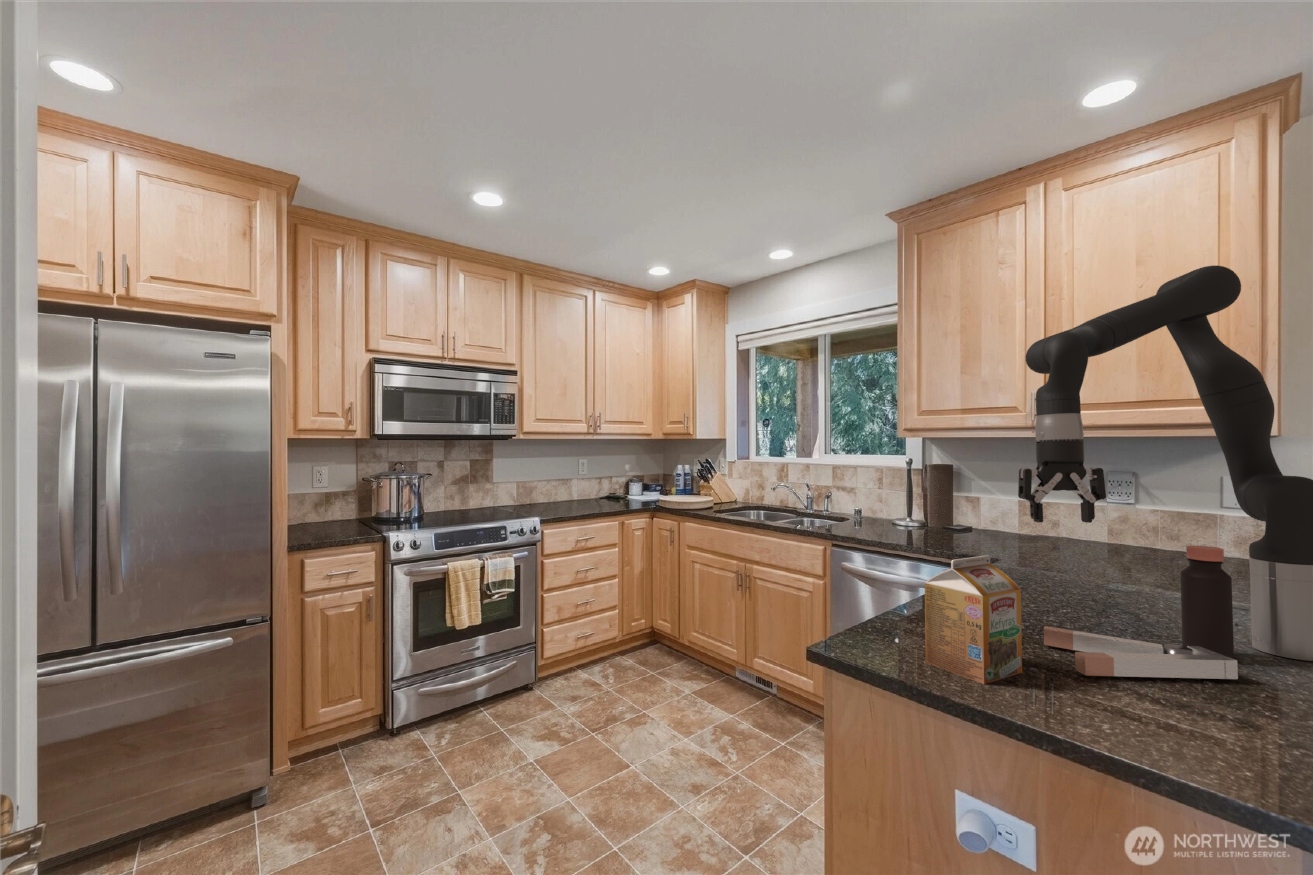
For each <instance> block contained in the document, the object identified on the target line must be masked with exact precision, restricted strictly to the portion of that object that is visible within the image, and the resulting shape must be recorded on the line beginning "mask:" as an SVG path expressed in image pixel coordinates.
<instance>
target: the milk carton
mask: <svg viewBox="0 0 1313 875" xmlns="http://www.w3.org/2000/svg"><path fill="white" fill-rule="evenodd" d="M950 567H951V568H948V569H946V570H943V571H940V572H939V573H937V574H935V575H933V576H932V577H929V579H928V580H926V581H925V582H924V628H925V630H924V631H925V632H924V635H925V637H924V638H925V639H924V640H925V642H924V644H925V646H924V647H925V663H926V664H929V665H931V664H932V666H933V667H937V668H939V667H941V668H940V669H942V668H943V669H942V670H944V669H945V671H947V672H950V671H951V672H950V673H952V672H953V673H952V674H955V675H958V676H961V677H964V678H966V679H968V680H972V681H974V682H977V683H980V684H983V685H986V684H989V683H992V682H993V683H994V682H995V681H996V682H997V681H999V680H1003V679H1006V678H1009V677H1012V676H1016V675H1019V674H1022V673H1023V650H1022V649H1023V647H1022V644H1023V643H1022V641H1023V640H1022V636H1023V635H1022V594H1021V593H1022V591H1021V590H1022V589H1021V588H1020V587H1019V586H1018V584H1016V582H1015V581H1014V580H1013V579H1011V578H1010V577H1009V576H1008V575H1007V574H1006V573H1005V572H1004V571H1002V570H1000V569H999V568H997V567H996V566H995V565H993V564H992V563H991V556H990V555H980V556H973V557H964V558H957V559H952V560H951V562H950Z"/></svg>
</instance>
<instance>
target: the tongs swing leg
mask: <svg viewBox="0 0 1313 875" xmlns="http://www.w3.org/2000/svg"><path fill="white" fill-rule="evenodd" d="M1043 645H1044V646H1050V647H1055V648H1061V649H1064V650H1065V649H1067V650H1072V651H1076V652H1097V653H1143V654H1189V655H1193V650H1192V649H1191V648H1188V647H1185V646H1182V644H1181V645H1179V644H1173V643H1165V644H1164V645H1163V644H1162V643H1161V644H1160V643H1154V642H1150V641H1149V642H1148V641H1143V640H1142V641H1141V640H1135V639H1130V638H1124V637H1116V636H1110V635H1103V634H1098V633H1097V634H1096V633H1092V632H1085V631H1078V630H1074V629H1073V630H1072V629H1067V628H1066V629H1065V628H1060V627H1055V626H1054V627H1053V626H1047V625H1044V626H1043Z"/></svg>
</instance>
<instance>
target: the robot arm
mask: <svg viewBox="0 0 1313 875" xmlns="http://www.w3.org/2000/svg"><path fill="white" fill-rule="evenodd" d="M1241 291H1242V283H1241V279H1240V277H1239V276H1238V275H1237V273H1236V272H1235V271H1234V270H1232V269H1230V268H1228V267H1226V266H1222V265H1207V266H1202V267H1199V268H1196V269H1193V270H1192V271H1189V272H1187V273H1185V274H1182V275H1180V276H1177V277H1174V278H1172V279H1170V280H1168V281H1166V282H1164V283H1163V284H1161V285H1160V286H1159V288H1158V289H1157V291H1156V294H1155V295H1154V294H1153V295H1152V296H1149V297H1147V298H1144V299H1142V300H1138V301H1135V302H1133V303H1130V304H1128V305H1125V306H1122V307H1120V308H1115V309H1113V310H1111V311H1108V312H1106V313H1104V314H1101V315H1098V316H1096V317H1094V318H1091V319H1089V320H1087V321H1085V322H1083V323H1081V324H1080V325H1077V326H1075V327H1073V328H1070V329H1067V330H1064V331H1061V332H1058V333H1056V334H1053V335H1049V336H1047V337H1045V338H1041V339H1038V340H1037V341H1035V342H1033V343H1032V344H1031V345H1030V346H1029V348H1028V349H1027V351H1026V353H1025V363H1026V365H1027V367H1028V368H1029V369H1030V370H1032V372H1035V373H1037V374H1041V375H1048V378H1047V381H1046V383H1045V384H1043V385H1042V386H1040V387H1039V388H1037V390H1036V393H1035V413H1036V417H1035V418H1036V419H1035V426H1034V427H1035V428H1034V429H1035V430H1034V431H1035V458H1036V463H1037V464H1036V468H1035V469H1034V468H1033V469H1031V468H1027V467H1026V468H1024V467H1023V468H1022V467H1021V468H1020V469H1019V470H1018V490H1017V493H1018V494H1017V495H1018V496H1017V497H1018V498H1019V499H1022V500H1025V501H1027V502H1029V513H1030V515H1029V516H1030V518H1031V519H1032V520H1033V522H1034V523H1043V522H1044V507H1043V506H1044V504H1043V502H1042V501H1043V499H1044V498H1045V497H1046V496H1047V495H1049V494H1050V493H1051V491H1054V492H1055V491H1057V492H1060V491H1068V492H1069V491H1070V492H1072V493H1074V494H1075V495H1076V496H1077V497H1078V498H1079V499H1080V500H1081V502H1080V521H1082V523H1088V524H1089V523H1090V524H1091V523H1093V520H1095V517H1096V511H1095V504H1096V502H1097V501H1101V500H1106V498H1107V493H1106V492H1107V491H1106V480H1105V473H1104V469H1103V468H1102V467H1090V468H1085V466H1084V462H1085V447H1084V446H1085V443H1084V435H1085V433H1084V426H1083V419H1082V414H1081V413H1082V410H1081V396H1080V395H1081V394H1080V393H1081V389H1082V386H1083V383H1084V379H1085V376H1086V371H1087V368H1088V367H1087V366H1088V363H1089V358H1092V357H1097V356H1100V355H1102V354H1105V353H1107V352H1110V351H1113V350H1115V349H1117V348H1120V347H1122V346H1125V345H1127V344H1129V343H1131V342H1133V341H1135V340H1138V339H1140V338H1142V337H1144V336H1146V335H1149V334H1151V333H1153V332H1155V331H1158V330H1160V329H1161V328H1164V327H1166V328H1167V330H1168V332H1169V334H1170V335H1171V337H1172V339H1173V341H1174V342H1175V344H1176V346H1177V348H1178V349H1179V351H1180V354H1181V356H1182V357H1183V358H1182V359H1183V360H1184V362H1185V365H1186V366H1187V368H1188V370H1189V373H1190V375H1191V378H1192V380H1193V382H1194V385H1195V387H1196V390H1197V393H1198V396H1199V398H1200V401H1201V403H1202V406H1203V409H1204V411H1205V413H1206V415H1207V417H1208V418H1209V421H1210V423H1211V425H1212V428H1213V431H1214V433H1215V436H1216V438H1217V441H1218V443H1219V445H1220V448H1221V451H1222V453H1223V456H1224V459H1225V461H1226V462H1225V463H1226V465H1227V469H1228V473H1229V477H1230V480H1231V485H1232V489H1233V492H1234V493H1233V494H1234V496H1235V499H1236V501H1237V504H1238V505H1239V507H1240V508H1241V510H1242V511H1243V512H1244V513H1245V514H1246V515H1247V516H1249V517H1250V518H1252V519H1254V520H1257V521H1260V522H1264V523H1265V530H1264V535H1263V536H1262V537H1261V538H1260V539H1259V540H1256V541H1252V542H1251V543H1250V544H1249V547H1248V551H1249V552H1248V555H1249V556H1248V559H1249V581H1250V582H1249V585H1250V586H1249V589H1250V590H1249V591H1250V615H1251V616H1250V617H1251V618H1250V619H1251V621H1250V622H1251V623H1250V624H1251V647H1252V648H1254V649H1256V650H1257V651H1260V652H1263V653H1267V654H1270V655H1273V656H1278V657H1282V658H1287V659H1294V660H1300V661H1309V662H1313V479H1312V478H1310V477H1305V476H1300V475H1299V476H1298V475H1283V472H1281V469H1280V467H1279V465H1278V464H1277V461H1276V459H1275V456H1274V454H1273V451H1272V447H1271V446H1272V445H1271V436H1272V435H1271V434H1272V428H1273V424H1274V419H1275V403H1274V400H1273V397H1272V394H1271V393H1270V389H1269V387H1268V386H1267V383H1266V381H1265V378H1264V376H1263V374H1262V373H1261V371H1260V370H1259V369H1258V368H1257V367H1256V366H1255V365H1254V364H1253V363H1251V362H1250V361H1249V360H1247V359H1246V358H1245V357H1243V356H1242V355H1241V354H1240V353H1239V354H1238V353H1237V352H1236V351H1234V350H1233V349H1231V348H1230V347H1228V346H1227V344H1225V343H1223V341H1221V339H1220V338H1219V337H1218V336H1217V333H1215V331H1214V330H1213V327H1212V325H1211V323H1210V321H1209V318H1208V316H1210V315H1213V314H1216V313H1219V312H1221V311H1223V310H1225V309H1226V308H1228V307H1231V305H1233V304H1234V303H1235V302H1236V301H1237V299H1238V298H1239V296H1240V295H1241ZM1035 476H1036V478H1037V479H1038V480H1039V482H1038V483H1037V484H1036V485H1035V486H1034V488H1033V491H1032V481H1033V480H1034V479H1035ZM1085 477H1086V478H1087V479H1088V480H1089V487H1090V489H1089V487H1088V486H1087V485H1086V484H1085V483H1084V482H1083V480H1084V478H1085Z"/></svg>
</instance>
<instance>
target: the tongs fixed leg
mask: <svg viewBox="0 0 1313 875" xmlns="http://www.w3.org/2000/svg"><path fill="white" fill-rule="evenodd" d="M1187 647H1188V648H1191V649H1192V650H1193V655H1189V654H1164V653H1163V654H1143V653H1097V652H1083V651H1075V652H1074V662H1075V664H1074V666H1075V671H1077V672H1079V673H1080V674H1082V675H1084V676H1085V677H1086V676H1091V677H1093V676H1094V677H1131V678H1134V677H1135V678H1136V677H1137V678H1167V679H1168V678H1171V679H1175V678H1176V679H1177V678H1179V679H1209V680H1210V679H1214V680H1215V679H1219V680H1238V679H1239V674H1238V673H1239V671H1238V670H1239V668H1238V660H1237V659H1235V658H1234V659H1232V658H1229V657H1226V656H1224V655H1221V654H1218V653H1216V652H1213V651H1210V650H1208V649H1205V648H1202V647H1200V646H1187Z"/></svg>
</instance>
